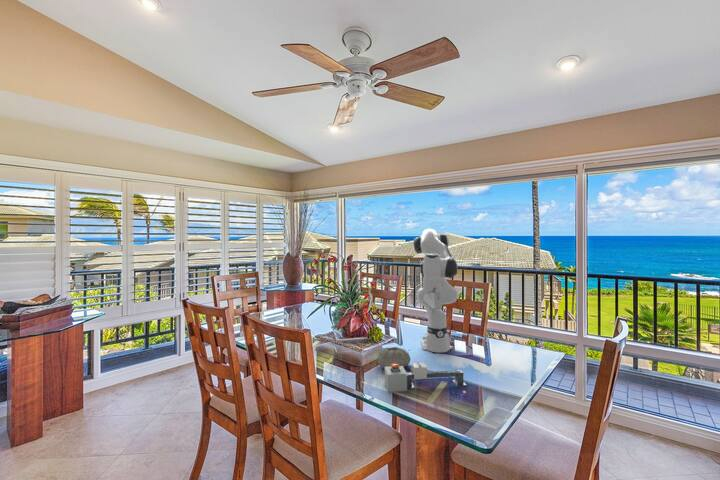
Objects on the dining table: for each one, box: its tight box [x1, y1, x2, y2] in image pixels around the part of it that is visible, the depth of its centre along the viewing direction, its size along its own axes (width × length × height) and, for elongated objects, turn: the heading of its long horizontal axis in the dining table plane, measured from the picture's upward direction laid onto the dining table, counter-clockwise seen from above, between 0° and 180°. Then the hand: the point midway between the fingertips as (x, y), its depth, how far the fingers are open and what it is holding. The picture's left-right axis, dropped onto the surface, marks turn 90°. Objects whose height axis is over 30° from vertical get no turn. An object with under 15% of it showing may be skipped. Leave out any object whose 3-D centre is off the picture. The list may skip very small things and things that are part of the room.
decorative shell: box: [377, 346, 411, 369], centre depth 177 cm, size 18×18×10 cm
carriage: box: [411, 361, 428, 380], centre depth 154 cm, size 5×6×6 cm
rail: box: [406, 369, 468, 390], centre depth 155 cm, size 6×30×6 cm, turn 94°
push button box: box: [384, 366, 408, 393], centre depth 153 cm, size 9×9×8 cm
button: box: [391, 363, 400, 372], centre depth 153 cm, size 4×4×7 cm
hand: (432, 314), depth 160 cm, fingers closed
